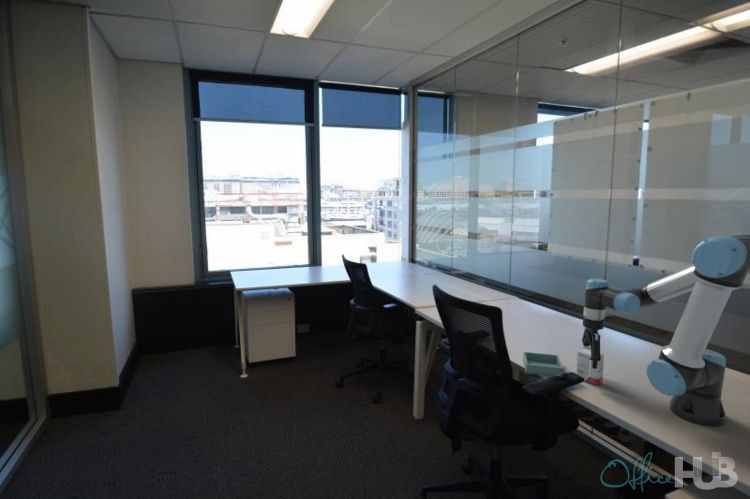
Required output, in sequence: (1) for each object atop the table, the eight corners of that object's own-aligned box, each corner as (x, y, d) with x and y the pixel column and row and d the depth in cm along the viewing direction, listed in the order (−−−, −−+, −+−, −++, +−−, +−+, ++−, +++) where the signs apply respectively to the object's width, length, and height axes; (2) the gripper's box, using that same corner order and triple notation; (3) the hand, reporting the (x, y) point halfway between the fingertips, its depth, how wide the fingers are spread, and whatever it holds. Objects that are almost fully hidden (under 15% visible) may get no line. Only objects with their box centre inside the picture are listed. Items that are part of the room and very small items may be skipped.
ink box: (603, 383, 165) (605, 354, 163) (596, 386, 162) (598, 357, 160) (581, 375, 172) (584, 348, 170) (575, 377, 169) (577, 350, 168)
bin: (562, 377, 169) (563, 368, 169) (525, 373, 173) (526, 364, 173) (557, 363, 183) (557, 355, 183) (523, 360, 187) (523, 351, 186)
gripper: (613, 329, 151) (607, 383, 154) (596, 309, 174) (591, 356, 178) (590, 327, 152) (585, 380, 156) (577, 307, 176) (572, 354, 180)
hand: (588, 368), depth 167 cm, fingers open, 13 cm apart
